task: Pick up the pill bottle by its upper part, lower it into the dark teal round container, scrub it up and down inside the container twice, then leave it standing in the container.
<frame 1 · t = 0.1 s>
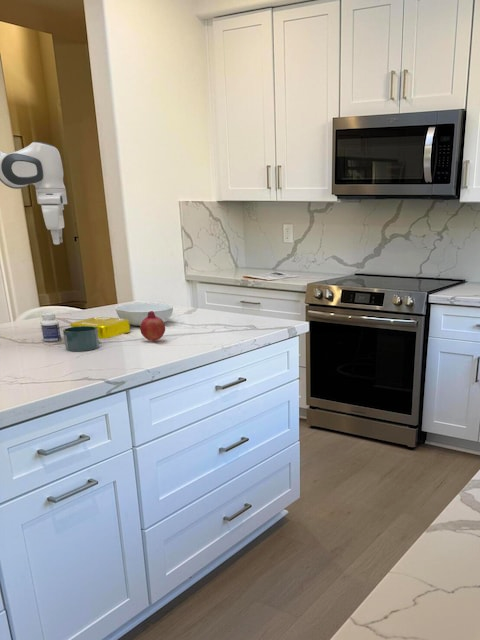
hand: (58, 243, 199), 31 cm above the worktop, tool pointing down, fingers open, 8 cm apart
serving bowl: (146, 325, 232), on the worktop
dark teal round container: (82, 347, 193), on the worktop
fruit: (154, 341, 204), on the worktop
pill bottle: (53, 344, 199), on the worktop
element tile: (101, 334, 214), on the worktop
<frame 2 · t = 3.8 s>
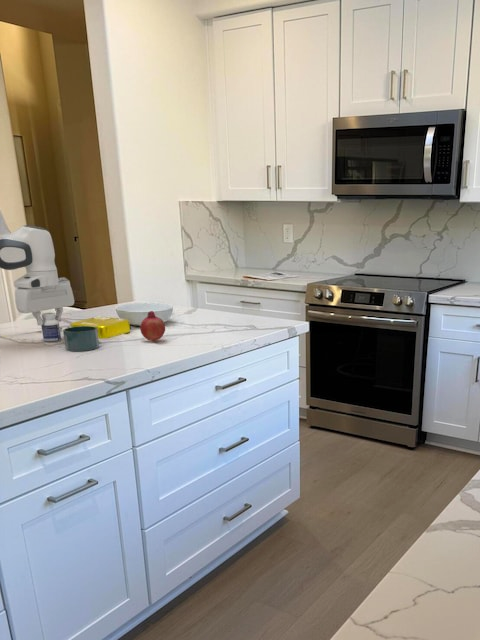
hand: (49, 323, 196), 7 cm above the worktop, tool pointing down, fingers closed on pill bottle, 5 cm apart
pill bottle: (53, 344, 199), on the worktop, touching gripper
everything else where it was.
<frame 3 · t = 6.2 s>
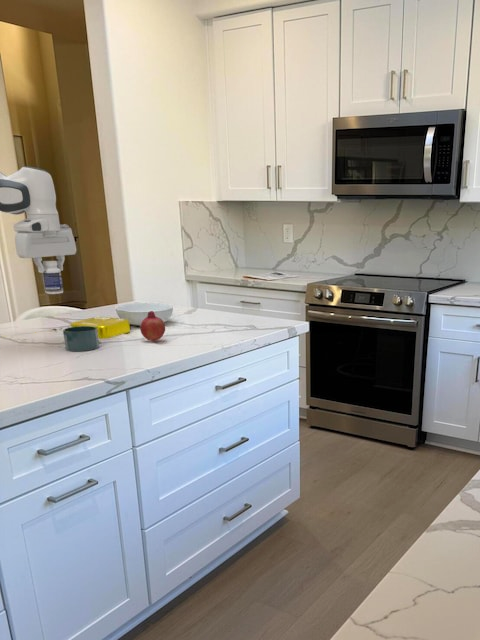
hand: (51, 271, 189), 23 cm above the worktop, tool pointing down, fingers closed on pill bottle, 5 cm apart
pill bottle: (54, 293, 192), point 16 cm above the worktop, touching gripper
everything else where it was.
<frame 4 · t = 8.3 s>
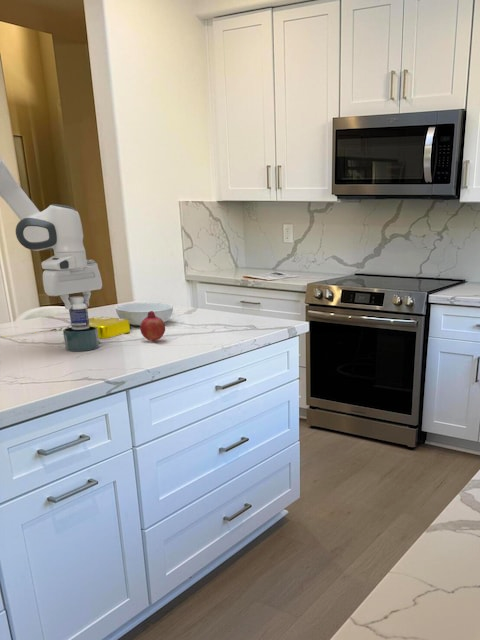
hand: (77, 307, 189), 13 cm above the worktop, tool pointing down, fingers closed on pill bottle, 5 cm apart
pill bottle: (80, 329, 191), point 6 cm above the worktop, touching gripper
everything else where it was.
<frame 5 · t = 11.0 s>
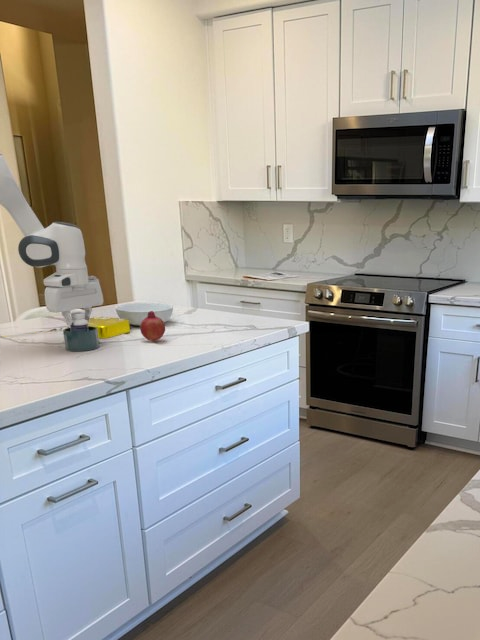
hand: (78, 323, 190), 8 cm above the worktop, tool pointing down, fingers closed on pill bottle, 5 cm apart
pill bottle: (81, 344, 193), point 1 cm above the worktop, touching gripper
everything else where it was.
when the fingers open (7 cm above the worktop, at t = 13.1 s): pill bottle stays where it is, resting on dark teal round container.
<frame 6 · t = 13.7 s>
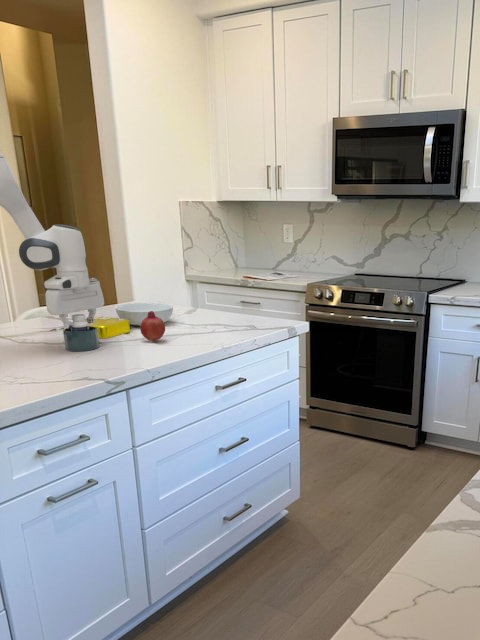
hand: (79, 325, 191), 7 cm above the worktop, tool pointing down, fingers open, 8 cm apart
pill bottle: (82, 346, 193), resting on dark teal round container
everything else where it was.
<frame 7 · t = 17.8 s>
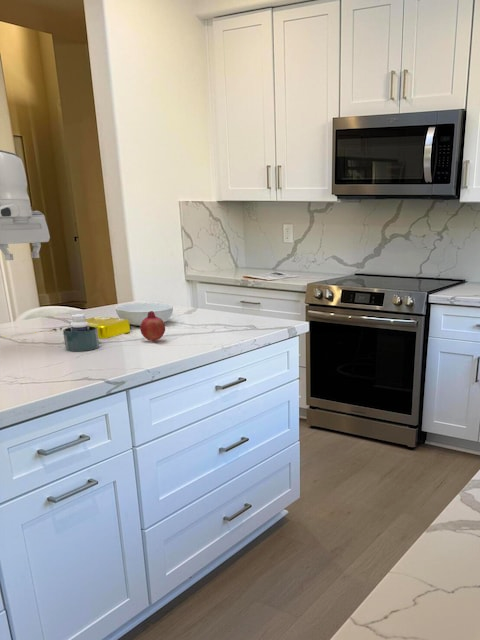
hand: (22, 259, 184), 27 cm above the worktop, tool pointing down, fingers open, 8 cm apart
nothing on the worktop moved.
at the end: pill bottle 0.1 cm off-centre in the dark teal round container, point 0.4 cm above the dark teal round container's base; pill bottle tilted 0° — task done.
